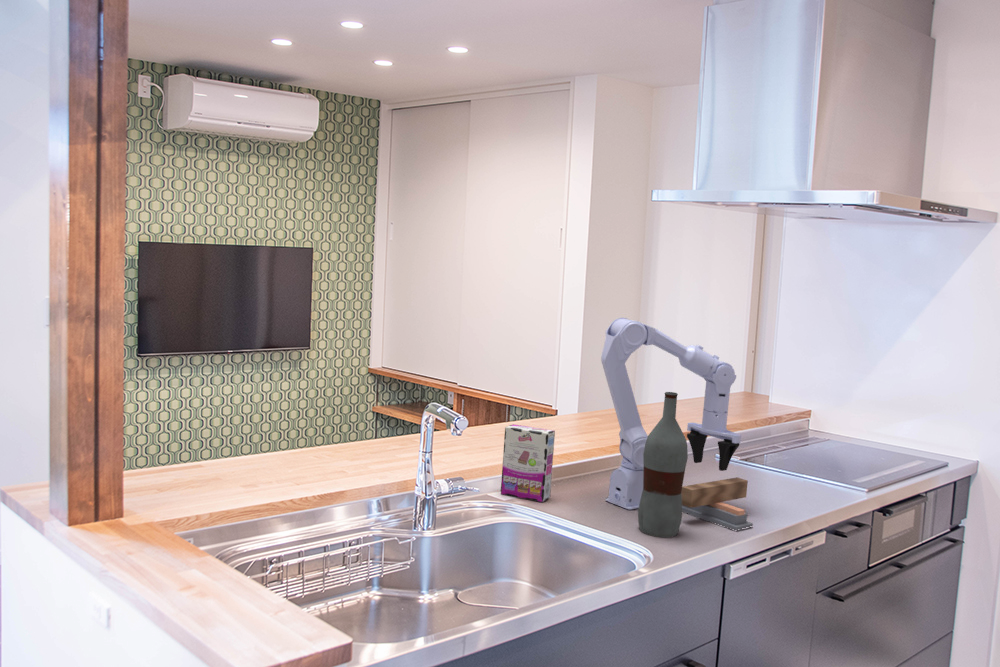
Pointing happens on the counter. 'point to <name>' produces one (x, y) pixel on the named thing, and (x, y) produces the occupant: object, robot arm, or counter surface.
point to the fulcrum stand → (720, 515)
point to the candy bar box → (527, 462)
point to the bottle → (663, 474)
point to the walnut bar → (713, 492)
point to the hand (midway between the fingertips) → (710, 466)
